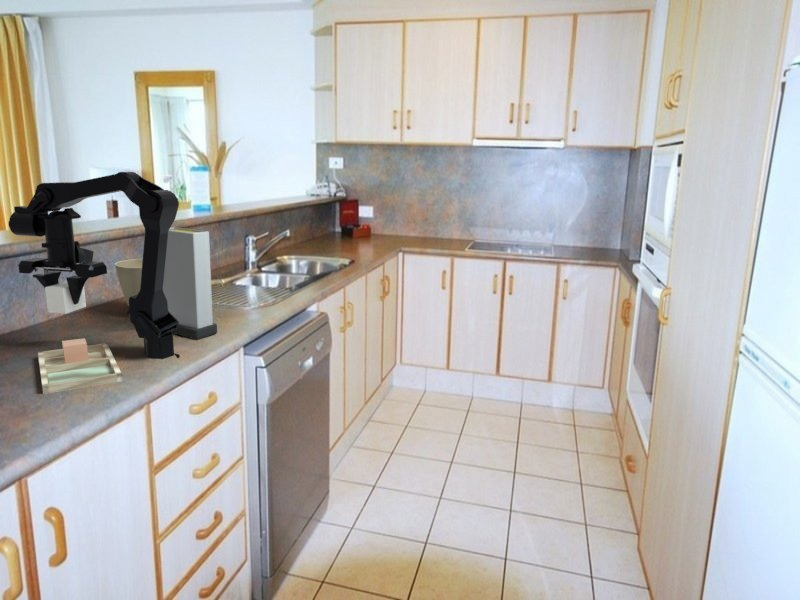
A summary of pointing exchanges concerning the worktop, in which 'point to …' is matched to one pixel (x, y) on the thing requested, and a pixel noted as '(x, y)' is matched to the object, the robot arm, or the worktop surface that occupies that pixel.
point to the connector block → (62, 299)
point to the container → (189, 282)
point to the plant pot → (129, 276)
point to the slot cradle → (78, 369)
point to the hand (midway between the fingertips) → (66, 303)
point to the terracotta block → (75, 350)
